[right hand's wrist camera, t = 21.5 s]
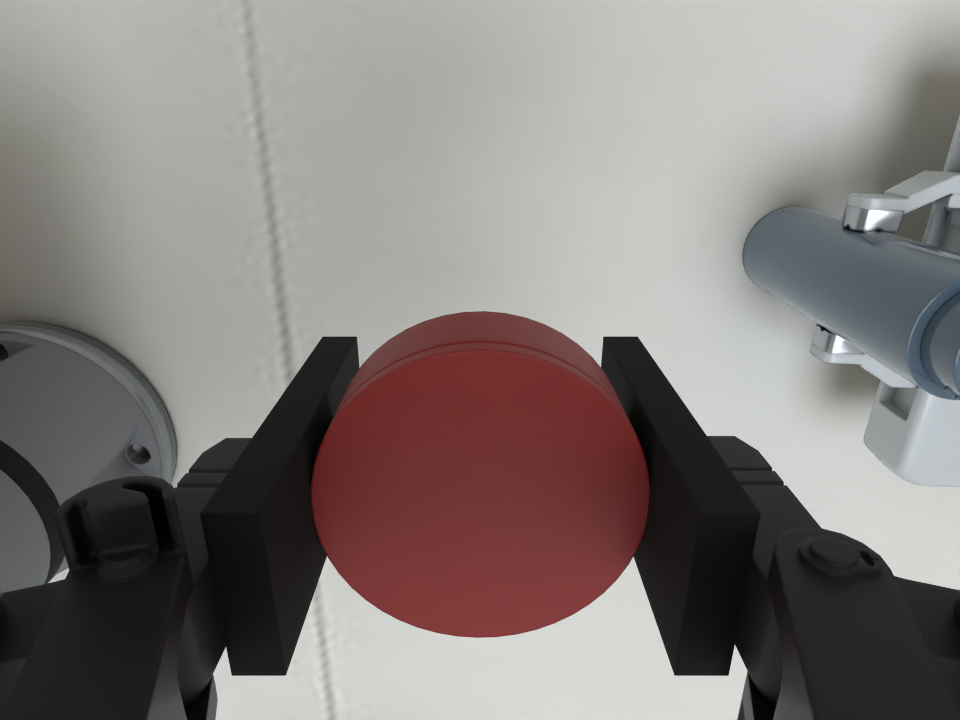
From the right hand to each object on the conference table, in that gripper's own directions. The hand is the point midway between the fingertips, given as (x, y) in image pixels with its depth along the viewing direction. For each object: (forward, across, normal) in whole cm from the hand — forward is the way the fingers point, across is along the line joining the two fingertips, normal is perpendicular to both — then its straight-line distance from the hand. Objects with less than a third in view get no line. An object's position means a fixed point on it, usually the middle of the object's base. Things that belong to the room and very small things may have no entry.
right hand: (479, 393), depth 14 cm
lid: (-4, 0, 0) cm, 4 cm away
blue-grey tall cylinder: (+23, +18, -1) cm, 29 cm away
